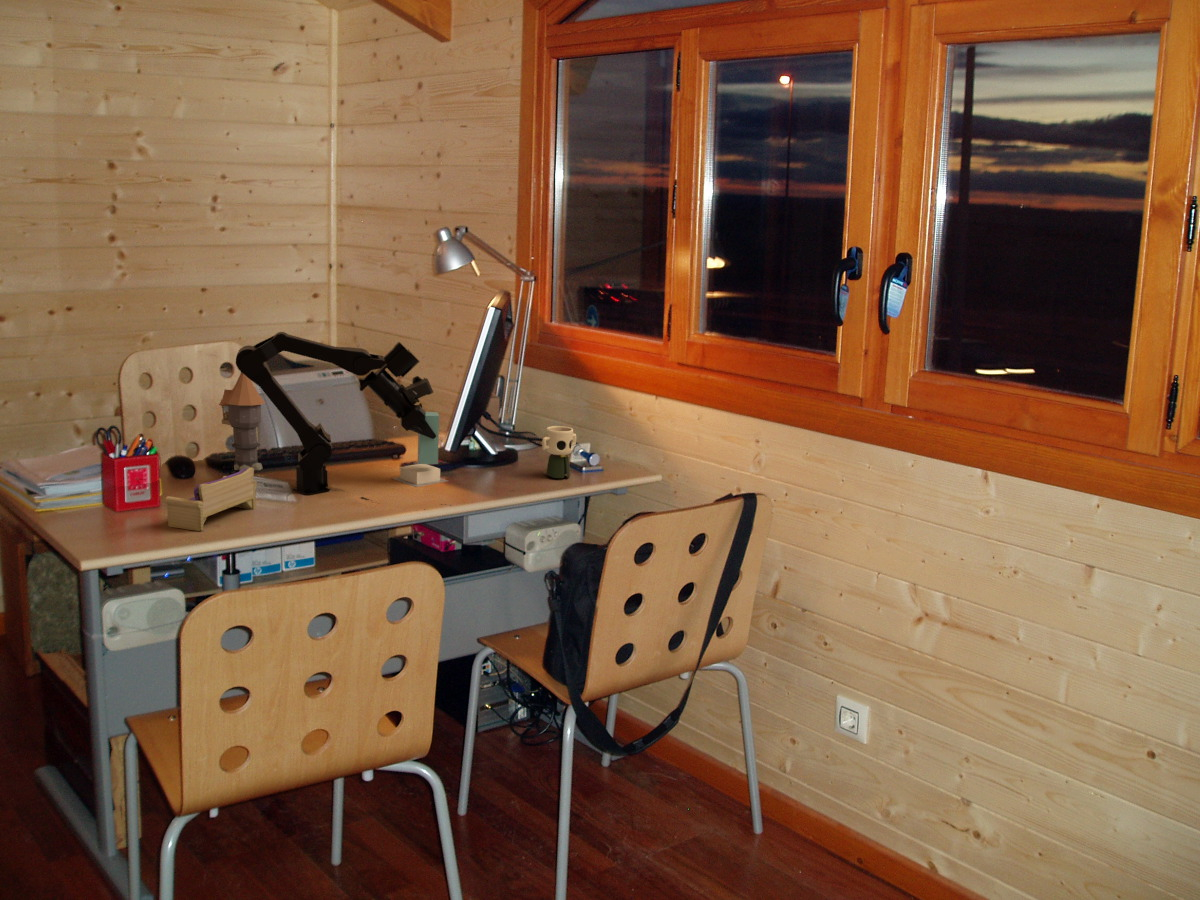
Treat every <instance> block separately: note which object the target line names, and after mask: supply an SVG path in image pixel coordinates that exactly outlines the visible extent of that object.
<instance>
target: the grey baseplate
mask: <svg viewBox="0 0 1200 900" xmlns="http://www.w3.org/2000/svg"><path fill="white" fill-rule="evenodd" d="M391 480H395V481H398V482H400V483H402V484H406V485H408V486H411V487H414V488H419V487H423V486H429V485H436V484H441V483H445V482H448V480H447V479H444V478H442V477H440V481H435V482H429V483H424V484H418V485H416V484H414V483H411V482H408V481H405V480H402V479H400V476H398V477H392V478H391Z"/></svg>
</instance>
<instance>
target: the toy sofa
mask: <svg viewBox="0 0 1200 900" xmlns="http://www.w3.org/2000/svg"><path fill="white" fill-rule="evenodd" d="M254 473H255V470H254V469H253V468H251V467H249V468H246V469H243V470H241V471H239V470H238V471H237V472H235V473H232V474H229V475H223V476H222V478H218V479H216V480H211V481H209V482H208V481H207V482H202V483H199V484H197V485H195V488H194V489H193V495H194V497H191V498H182V497H176V496H169V495H168V496H166V497H165V499H164V500H165V501H164V502H165V504H166V505H167V524H168V527H169V528H175V529H176V528H177V529H184V530H189V531H195V532H203V531H204V523H205V522H206V520H207V518H208V517H209V516H212V515H215V514H218V513H219V512H223V511H225V510H228V509H230V508H233V507H235V508H243V509H248V510H256V507H257V505H256V504H257V503H256V501H257V498H256V492H257V491H256V488H257V486H258V482H257V481H256V480H254V477H255V475H254Z"/></svg>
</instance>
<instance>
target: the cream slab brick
mask: <svg viewBox="0 0 1200 900" xmlns="http://www.w3.org/2000/svg"><path fill="white" fill-rule="evenodd" d="M399 468H400V469H399V471H400V472H399V473H400V474H399V477H400V479H402V480H405V481H408V482H411V483H414V484H416V485H418V484H424V483H429V482H435V481H440V478H441V468H439V467H436V466H433V465H431V464H419V463H415V464H412V465H411V464H410V465H405V466H400V467H399Z"/></svg>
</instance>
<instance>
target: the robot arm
mask: <svg viewBox="0 0 1200 900" xmlns="http://www.w3.org/2000/svg"><path fill="white" fill-rule="evenodd" d="M282 352H287V353H291V354H295V355H299V356H303V357H306V358H311V359H314V360H318V361H322V362H326V363H329V364H332V365H335V366H337V367H339V368H341V369H343V370H345V371H347V372H348V373H351V374H354V375H356V376H357V377H359V378H358V382H359V386H358V387H359V391H361V392H363V391H364V390H365V389H366V388H369V389H370V390H371V391H372V392H373V393H374V394H375V396H377V397H378V398H379V399H380V400H381V401H382V403H383V405H385V406H386V407H387V408H389V409H390V411H392V412H393V413H394V414H395V416H396V417H397V418H398V419H399V420H400V421H399V423H400V426H401V428H403V429H404V430H405V431H406V432H408V431H411V432H414V433H417V434H418V433H419V434H422V435H424V436H426V437H429V438H431V439H434V438H436V435H435V433H434V432H433V430H432V429H431V427H430V426H429V424H428V423H427V421H426V420H425V415H426V412H427V411H426V410H425V409H424V408H423V404H422V403H420V399H421V398H423V397H425V396H427V395H428V396H430V395H431V394H433V393H434V390H433V388H432V385H431V384H430V381H429V379H428V378H426V377H423V378H422V377H420V376H419V375H417V376H413V377H412V382H411V383H410V384H409V385H407V386H406V387H405V385H403V384H402V383H399V382H398V381H397V380H396V379H395V378H394V377H396V378H401V377H402V378H404V377H405V376H406V375H407V374H409V373H410V372H411V370H413V368H415V367H416V366H417V365H418V364H419V363H420V360H419V359H418V358H417V357H416V356H415V354H413V352H412V351H410V349H407V347H405V345H403V344H402V343H401V342H400V341H397V343H396V344H395V345H394V346H393V348H391V350H389V351H388V352H387V353H386V354H385V355H380V354H374V353H373V354H372V353H370V352H369V351H368V350H366V349H365V348H361V347H360V348H359V347H351V346H347V347H346V346H334V345H330V344H326V343H322V342H319V341H315V340H311V339H308V338H307V339H306V338H303V337H300V336H296V335H292V334H289V333H287V332H285V331H279V332H277V333H275V334H274V335H272V336H270V337H268V338H266V339H264V340H262V341H260V342H258V343H256V344H254V345H251V344H250V345H244V346H241V348H239V350H238V352H237V354H236V357H235V365H236V366H235V367H236V368H237V369H238V371H240V373H241V372H242V373H243V374H244V375H245V376H247V377H248V378H249V379H250V380H251V381H252V383H253V384H255V385H257V386H258V387H259V388H260V389H261V390H262V392H263V393H264V394H265V395H266V397H268V399H269V400H270V402H272V404H273V405H274V406H275V407H276V409H277V411H278V412H280V414H281V415H282V416H283V417H284V419H285V420H286V421H287V423H288V424H289V425H290V427H292V430H294V431H295V433H296V434H297V436H298V439H299V441H300V442H301V445H302V447H303V448H302V449H301V451H299V452H298V454H297V455H298V465H296V466H295V469H296V470H295V471H296V472H295V475H296V476H295V477H296V480H295V481H296V483H295V484H296V485H295V486H293V487H292V490H293V491H296V492H298V493H301V494H304V495H305V496H306V495H307V496H309V495H314V494H319V493H326V492H330V488H328V483H329V482H328V479H329V478H328V470H327V465H326V464H325V462H326V461H328V460H329V459H330V458H331V456H332V453H333V446H332V439H331V434H330V433H327V432H326V431H325V429H324V427H323V425H322V424H321V422H319V423H318V424H317V425H314V424H313V423H312V422H311V421H309V419H308V418H307V417H306V416H305V415H304V413H303V412H302V411H301V409H300V408H299V407H298V405H296V403H295V402H294V401H293V399H292V397H291V396H289V395H288V393H287V392H286V390H285V389H284V388H283V386H282V385H281V384H280V383H279V382H278V380H277V379H276V378H275V377H274V375H273V373H272V371H271V369H270V367H269V364H268V361H270V360H271V359H272V358H274V357H275V356H277V355H279V354H280V353H282ZM386 369H387V370H388V371H389V372H390V373H391V374H392V375H393V376H394V377H393V376H392V375H391V374H390V373H389V372H388V371H387V370H386ZM374 370H376V371H374ZM362 376H365V377H362ZM418 403H419V404H418Z"/></svg>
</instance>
